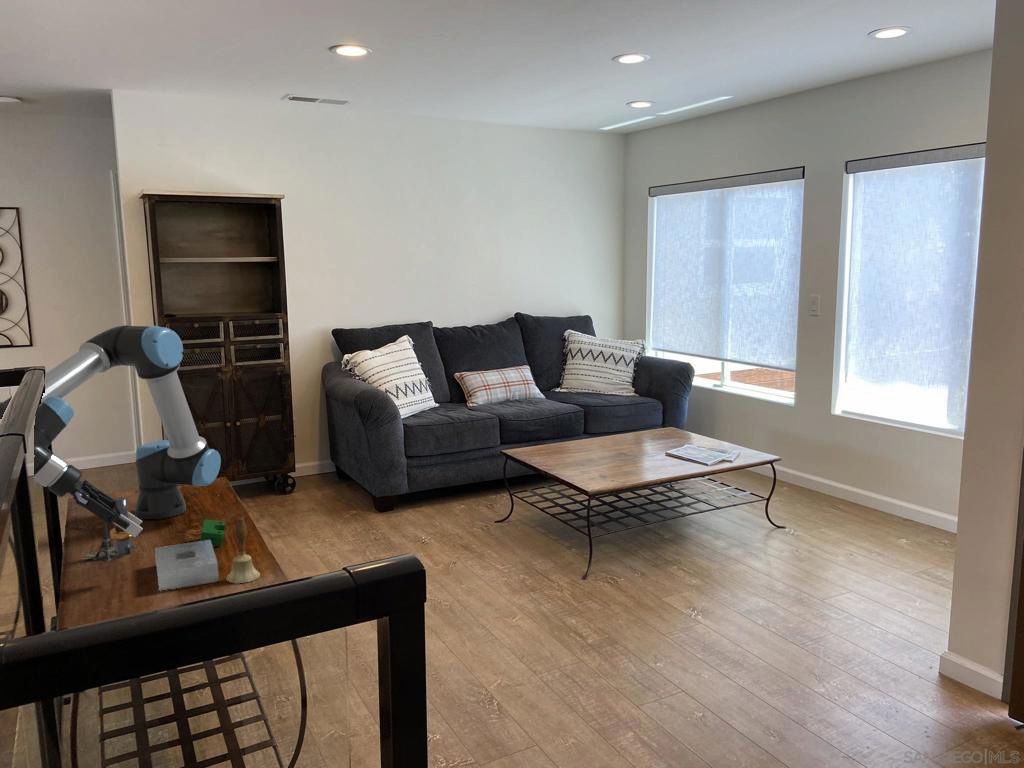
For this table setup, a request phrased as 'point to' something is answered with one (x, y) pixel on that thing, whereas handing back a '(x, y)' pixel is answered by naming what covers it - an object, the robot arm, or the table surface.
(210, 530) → the clamp
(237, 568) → the hand bell
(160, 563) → the hole block
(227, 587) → the table surface
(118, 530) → the pin
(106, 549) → the eiffel tower figurine
